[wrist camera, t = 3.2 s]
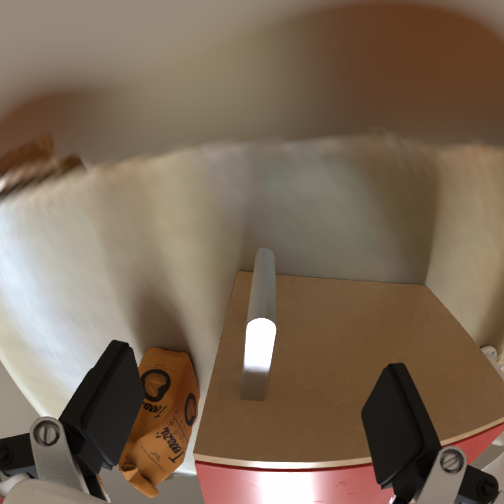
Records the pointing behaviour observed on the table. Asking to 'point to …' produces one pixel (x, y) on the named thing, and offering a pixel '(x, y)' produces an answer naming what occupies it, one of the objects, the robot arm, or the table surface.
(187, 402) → the coffee package
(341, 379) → the door
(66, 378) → the table surface
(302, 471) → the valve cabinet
